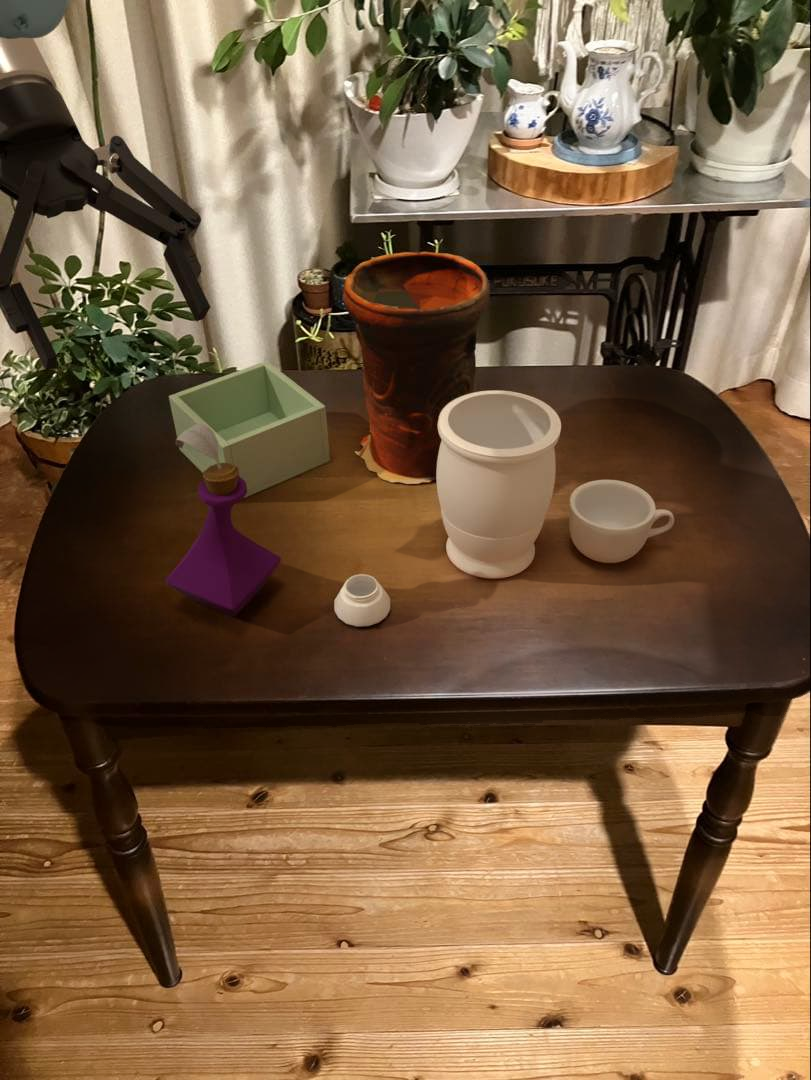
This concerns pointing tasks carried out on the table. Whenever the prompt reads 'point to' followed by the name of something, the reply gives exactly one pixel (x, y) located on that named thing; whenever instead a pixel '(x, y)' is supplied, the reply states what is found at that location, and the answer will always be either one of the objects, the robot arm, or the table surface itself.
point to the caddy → (256, 425)
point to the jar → (495, 479)
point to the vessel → (413, 352)
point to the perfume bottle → (220, 539)
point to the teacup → (612, 520)
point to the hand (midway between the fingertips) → (130, 338)
